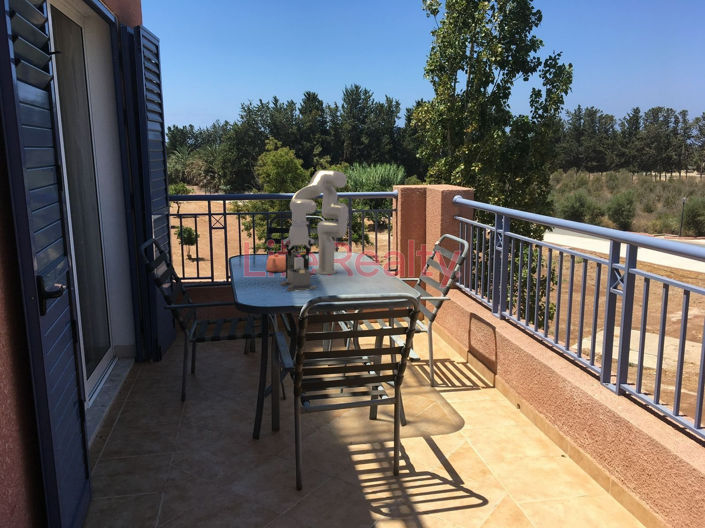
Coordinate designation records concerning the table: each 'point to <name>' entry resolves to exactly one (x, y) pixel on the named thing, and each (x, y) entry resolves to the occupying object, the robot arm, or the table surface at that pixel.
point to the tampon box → (291, 260)
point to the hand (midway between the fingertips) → (298, 255)
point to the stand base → (298, 280)
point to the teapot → (276, 263)
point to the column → (298, 264)
